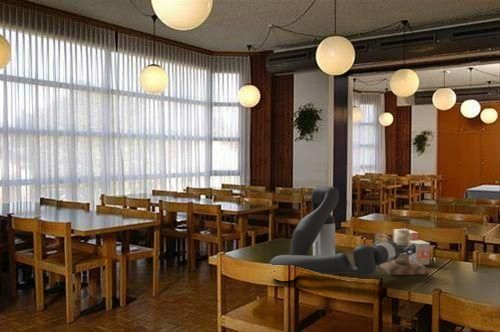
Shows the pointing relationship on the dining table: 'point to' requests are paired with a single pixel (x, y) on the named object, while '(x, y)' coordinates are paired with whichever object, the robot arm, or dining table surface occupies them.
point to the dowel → (402, 239)
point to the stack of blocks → (418, 248)
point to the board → (403, 268)
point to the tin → (380, 238)
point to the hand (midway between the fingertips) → (404, 245)
